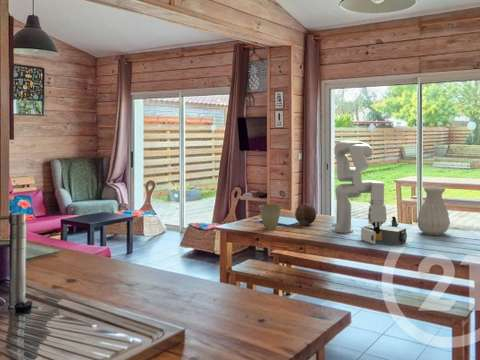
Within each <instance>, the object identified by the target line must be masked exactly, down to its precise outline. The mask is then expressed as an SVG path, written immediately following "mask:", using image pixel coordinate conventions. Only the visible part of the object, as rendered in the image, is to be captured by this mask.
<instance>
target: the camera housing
mask: <svg viewBox="0 0 480 360" xmlns="http://www.w3.org/2000/svg"><path fill="white" fill-rule="evenodd" d="M362 227H363V228H366V229H369V230H372V231H374V226H373V225H372V224H367V225H364V226H362ZM407 238H408V234H407V228H404V227H403V228H402V227H398V226H397V227H391V225H383V224H382V225H381V227H380V232H379V234H376V236H375V243H381V242H382V244H387V243H389V245H392V246H393V245H395V246H398V245H401V244H403V242H404V243H406V242H405V241H407Z"/></svg>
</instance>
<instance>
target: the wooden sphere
mask: <svg viewBox="0 0 480 360" xmlns="http://www.w3.org/2000/svg"><path fill="white" fill-rule="evenodd" d="M294 217H295V219H296V222H298V223H299V224H301V225H303V226H309V225H311V224H312V223H314V222H315V220H316V219H317V210H316V209H315V208H314V206H313V205H312V204H309V203H303V204H300V205H299V206H298V207H297V208H296V209H295V211H294Z"/></svg>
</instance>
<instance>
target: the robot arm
mask: <svg viewBox="0 0 480 360" xmlns="http://www.w3.org/2000/svg"><path fill="white" fill-rule="evenodd" d="M372 149H373V148H372V146H370V145H369V144H368V143H365V142H363V141H360V140H342V141H338V142H336V144H335V145H334V152H333V153H334V156H335V160H336V177H337V180H338V181H339V182H341V184H338V185H337V186H336V187H335V190H334V192H335V197H336V198H335V199H336V223H332V224H331V228H332V227H333V228H334V229H333V231H334V232H336V233H343V234H349V233H353V232H354V229H353V228H352V203H351V201H350V199H352V198H353V199H357V198H359V197H361V195H362V194H370V200H369V201H368V203H369V206H368V212H367V221H368V225H371V224H372V225H373V226H374V231H375V232H376V234H379V232H380V227H381V225H383V224H386V222H387V208H386V205H385V184H384V182H383V181H377V180H375V179H374V180H373V179H372V180H362V172H364V171H366V170H367V169H368V168H369V166H370V164H369V161H368V158H370V157H371V156H373V150H372ZM348 155H349V156H350V157H351V160H352V163H353V165H354V166H353V167H351V163H350V159H349V157H348ZM342 182H343V183H342ZM346 182H348V183H346ZM349 182H350V183H349Z"/></svg>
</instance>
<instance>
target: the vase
mask: <svg viewBox="0 0 480 360" xmlns="http://www.w3.org/2000/svg"><path fill="white" fill-rule="evenodd" d="M423 190H424V191H425V193H426V196H425V199H424V201H423V203H422V205H421V207H420V209H419V211H418V215H417V219H416V223H417V227H418V229H419V230H420V231H421V232H422V233H424V234H425V235H428V236H441V235H443V234H444V233H447V231H448V230H449V227H450V224H451V221H450V217H449V211H448V209H447V207H446V204H445V203H444V202H445V201H444V199H443V193H444V192H445V190H446V188H445V187H443V186H442V187H440V186H425V187H424V188H423Z"/></svg>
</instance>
